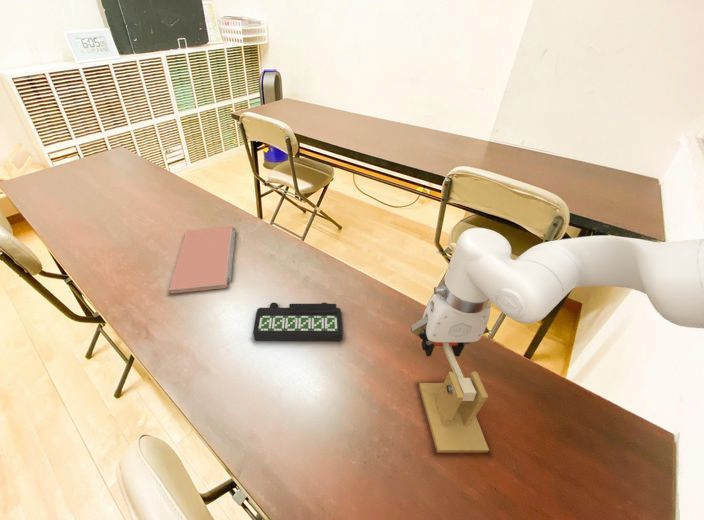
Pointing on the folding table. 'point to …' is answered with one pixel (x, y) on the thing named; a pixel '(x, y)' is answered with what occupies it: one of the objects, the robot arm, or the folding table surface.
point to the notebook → (204, 260)
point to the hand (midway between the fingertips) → (440, 349)
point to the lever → (458, 371)
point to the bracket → (454, 415)
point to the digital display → (298, 323)
